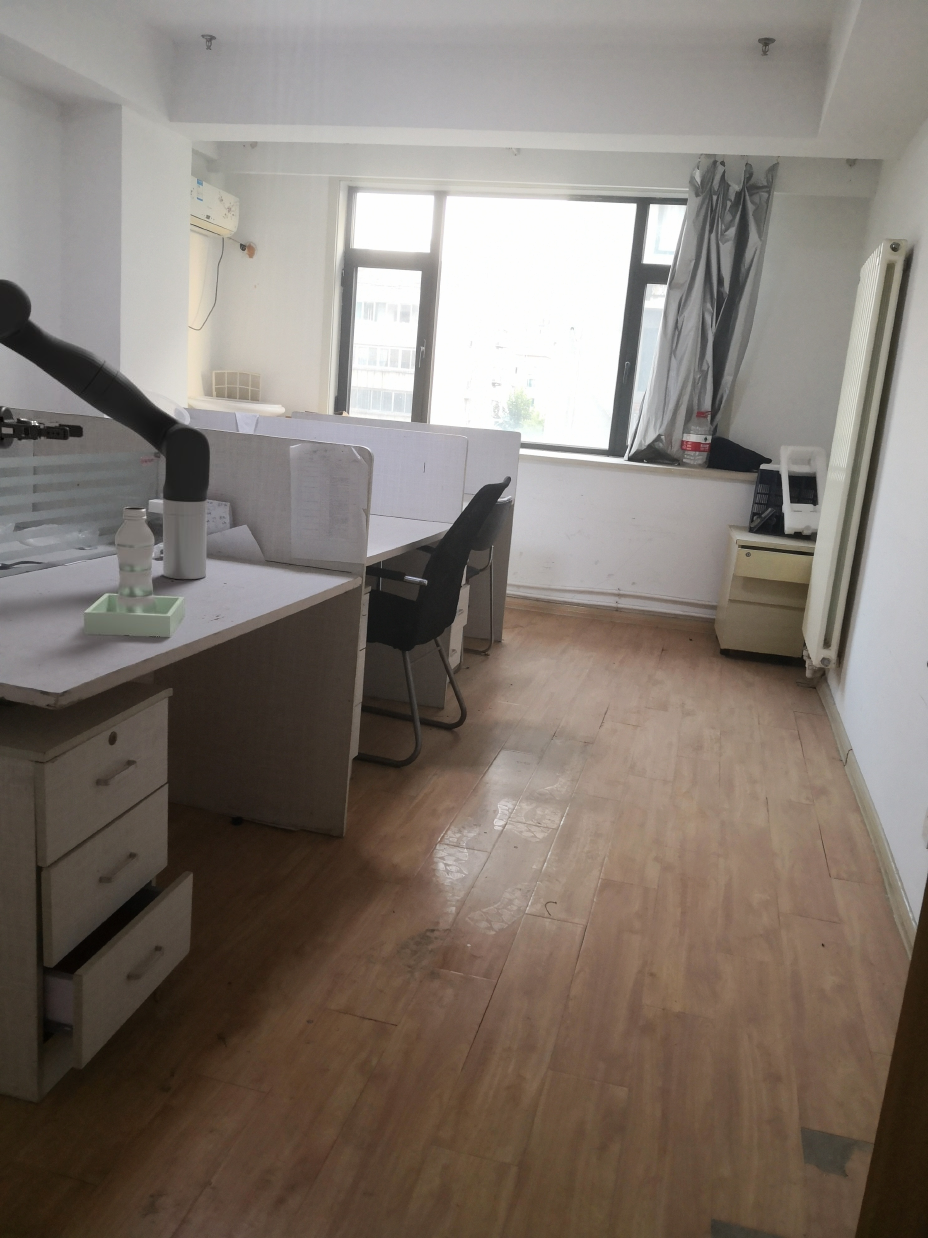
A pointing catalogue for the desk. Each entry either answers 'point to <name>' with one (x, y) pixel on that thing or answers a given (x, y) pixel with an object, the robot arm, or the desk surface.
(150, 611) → the plastic bottle
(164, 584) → the desk surface
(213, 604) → the desk surface
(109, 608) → the green tray
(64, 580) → the desk surface
